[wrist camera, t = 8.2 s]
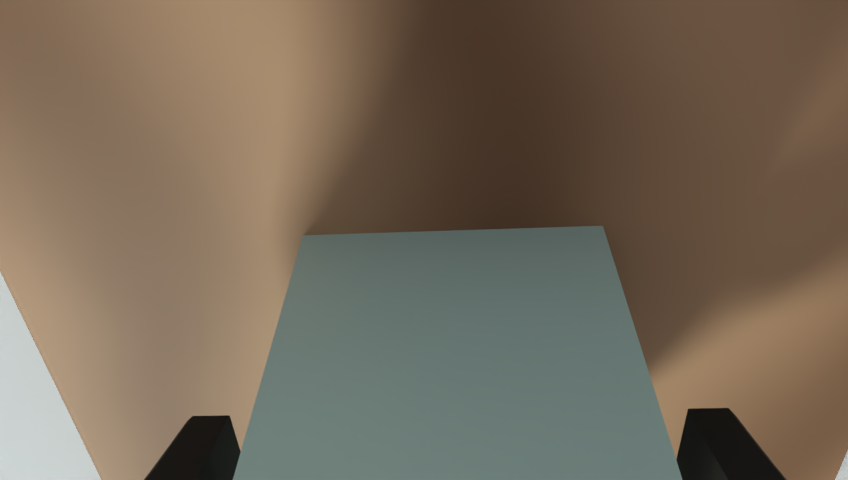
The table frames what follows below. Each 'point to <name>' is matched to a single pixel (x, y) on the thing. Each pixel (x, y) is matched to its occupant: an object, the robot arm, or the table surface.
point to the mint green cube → (456, 363)
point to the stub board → (425, 187)
